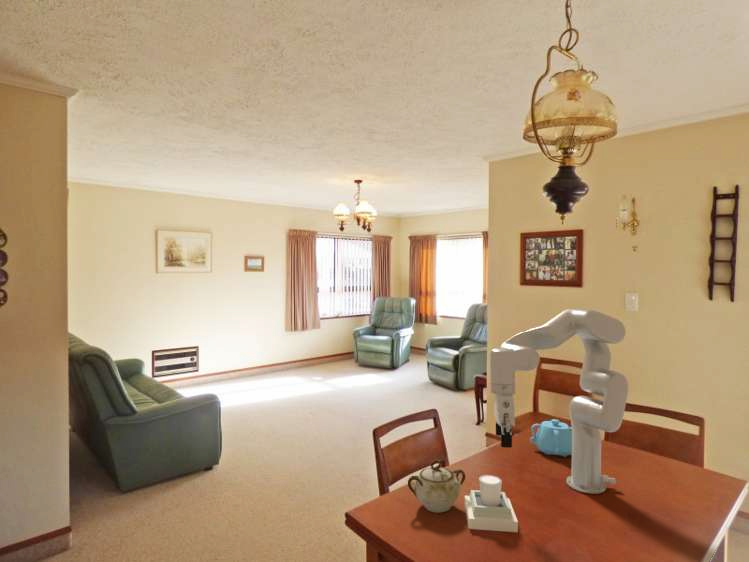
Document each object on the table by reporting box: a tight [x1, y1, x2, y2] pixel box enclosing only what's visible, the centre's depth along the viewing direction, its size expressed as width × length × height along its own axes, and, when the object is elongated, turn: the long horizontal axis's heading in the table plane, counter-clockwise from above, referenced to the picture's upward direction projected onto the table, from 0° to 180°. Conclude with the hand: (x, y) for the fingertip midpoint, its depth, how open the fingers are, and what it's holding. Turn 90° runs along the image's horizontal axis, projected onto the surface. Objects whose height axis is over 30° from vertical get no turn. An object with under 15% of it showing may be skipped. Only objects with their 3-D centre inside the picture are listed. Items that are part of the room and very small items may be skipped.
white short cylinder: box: [478, 474, 503, 507], centre depth 138 cm, size 7×7×7 cm
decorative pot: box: [529, 418, 572, 458], centre depth 190 cm, size 16×16×14 cm
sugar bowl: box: [407, 459, 466, 514], centre depth 144 cm, size 20×15×15 cm
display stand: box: [464, 489, 519, 533], centre depth 137 cm, size 14×14×6 cm
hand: (503, 441), depth 142 cm, fingers open, 9 cm apart
